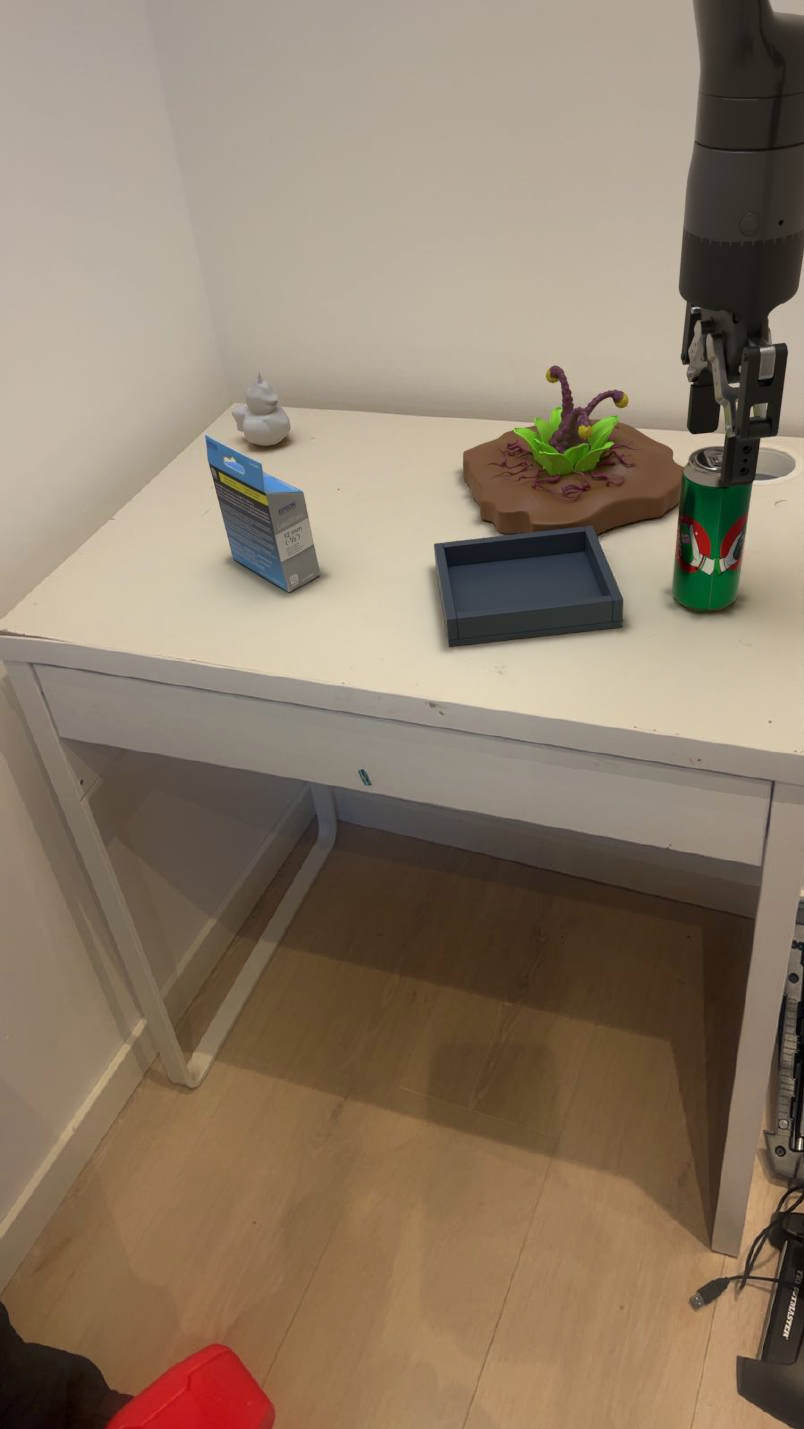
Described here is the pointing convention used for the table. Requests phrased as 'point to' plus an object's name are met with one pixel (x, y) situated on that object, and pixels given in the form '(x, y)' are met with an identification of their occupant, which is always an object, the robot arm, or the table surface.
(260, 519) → the label tape box
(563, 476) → the plant
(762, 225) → the robot arm
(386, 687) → the table surface
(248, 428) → the rubber duck
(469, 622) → the container
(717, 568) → the soda can
